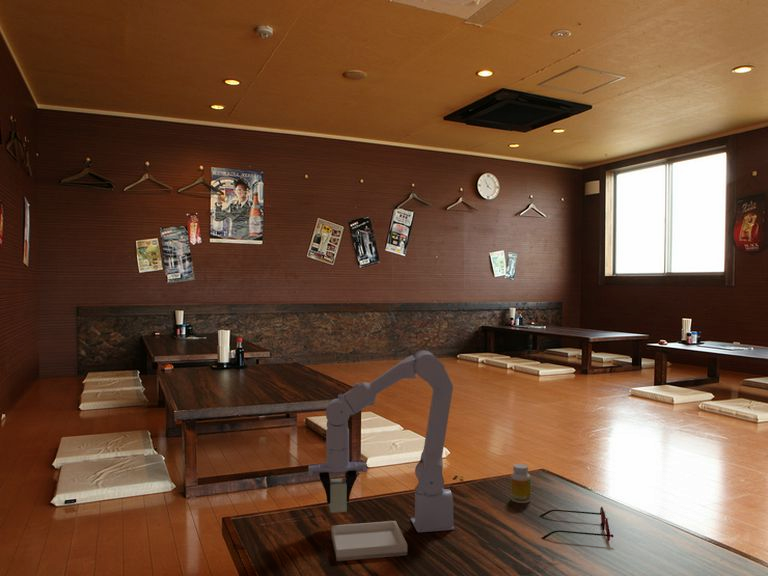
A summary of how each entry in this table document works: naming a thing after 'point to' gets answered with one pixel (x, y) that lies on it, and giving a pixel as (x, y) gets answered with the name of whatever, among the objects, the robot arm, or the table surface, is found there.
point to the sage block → (338, 495)
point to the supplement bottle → (520, 484)
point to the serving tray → (368, 540)
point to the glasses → (603, 523)
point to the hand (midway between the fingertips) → (337, 501)
